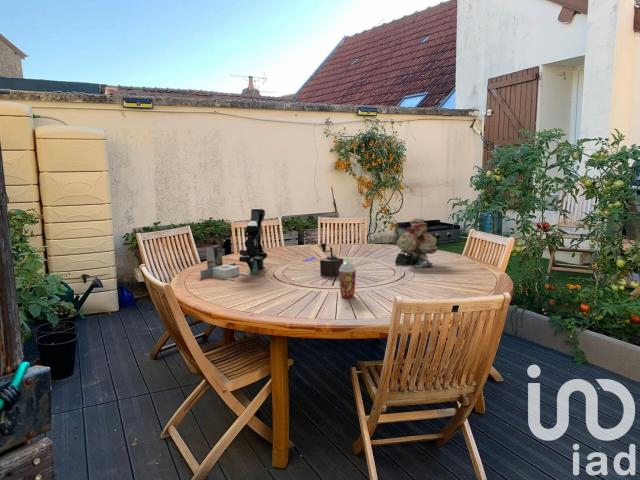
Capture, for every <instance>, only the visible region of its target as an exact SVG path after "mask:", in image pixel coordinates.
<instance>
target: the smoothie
mask: <svg viewBox="0 0 640 480" xmlns="http://www.w3.org/2000/svg"><path fill="white" fill-rule="evenodd" d="M356 271H357V269H356V267H355V266H354V264H353V263H352V262H349V256H346V261H345V262H343V264H342V265H341V266H340V269H339V276H338V277H339V288H340V289H339V290H340V291H339V293H340V295H341V297H342V298H344V299H352V298H353V297H354V295H355V292H356V273H357V272H356Z"/></svg>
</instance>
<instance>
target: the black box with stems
mask: <svg viewBox="0 0 640 480" xmlns="http://www.w3.org/2000/svg"><path fill="white" fill-rule="evenodd" d="M319 245H320V248H321V249H322V253H330V255H329V256H327V257H326V258H322V259H320V260H319V263H320V264H319V267H320V270H319V271H320V273H319V274H320V276H323V277H324V276H325V277H331V278H335V277H339V269H340V266H341V265H342V264H343V263H344V258H340V257H337V256H336V254H334V255H333V247H332V246H331V247H330V250H328V249H327V243H326V242H323V243H321V244H319Z"/></svg>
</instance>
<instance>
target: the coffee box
mask: <svg viewBox="0 0 640 480" xmlns="http://www.w3.org/2000/svg"><path fill="white" fill-rule="evenodd" d="M205 248H206V265H207V268H206V269H208V268H212V267H216V266H221V265H224V263H223V261H224V260H223V246H222V245H219V244H217V245H216V244H213V245H211V246H207V247H205Z"/></svg>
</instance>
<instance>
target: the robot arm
mask: <svg viewBox="0 0 640 480" xmlns="http://www.w3.org/2000/svg"><path fill="white" fill-rule="evenodd" d="M265 216H266V210H265V209H263V208H259V207H258V208H255V207H254V208H252V209H250V219H249V222H248V223H247V224H246V227H245V230H244V231H245V232H244V238H247V239H245V241H244V245H245V248H246V250H245V249H240V250H239V259H238V260H239V261H238V262H240V263H241V262H242V263H246V264H247V266H248V269H249V271H250V273H251V272H252V271H253V264H254V261H257V271H258V270H264V269H266V267H265V266H264V260H266V259H267V258H268V253H267V252H265V250H264V247H263V245H262V225H263V224H262V223H263V221H264V220H265Z"/></svg>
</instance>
